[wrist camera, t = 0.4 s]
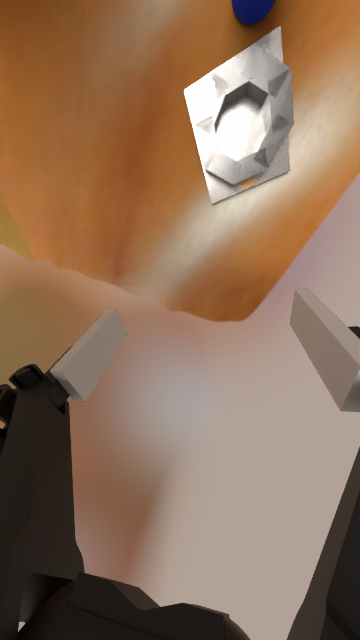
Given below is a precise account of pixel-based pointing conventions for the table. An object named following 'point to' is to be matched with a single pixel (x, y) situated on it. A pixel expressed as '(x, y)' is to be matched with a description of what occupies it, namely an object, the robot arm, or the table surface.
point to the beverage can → (251, 10)
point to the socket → (243, 118)
